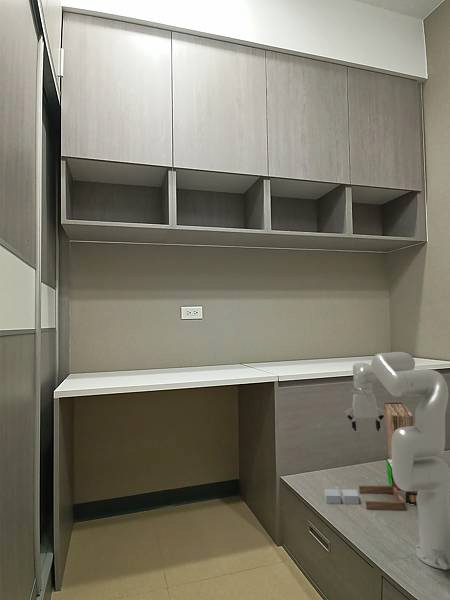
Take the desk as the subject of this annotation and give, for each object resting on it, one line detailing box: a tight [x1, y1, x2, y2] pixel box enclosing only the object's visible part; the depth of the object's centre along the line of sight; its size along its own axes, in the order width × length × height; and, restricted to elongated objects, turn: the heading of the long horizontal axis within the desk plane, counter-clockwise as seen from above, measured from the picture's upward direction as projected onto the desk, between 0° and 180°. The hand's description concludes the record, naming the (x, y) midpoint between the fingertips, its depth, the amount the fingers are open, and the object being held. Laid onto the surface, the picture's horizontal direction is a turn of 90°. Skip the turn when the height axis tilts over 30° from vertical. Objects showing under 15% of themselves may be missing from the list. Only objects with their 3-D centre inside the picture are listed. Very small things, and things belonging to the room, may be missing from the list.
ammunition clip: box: [404, 490, 419, 506], centre depth 154 cm, size 11×2×12 cm, turn 62°
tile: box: [341, 488, 360, 505], centre depth 161 cm, size 6×6×4 cm
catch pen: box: [358, 485, 407, 511], centre depth 159 cm, size 15×15×3 cm
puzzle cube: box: [385, 458, 402, 491], centre depth 172 cm, size 10×10×10 cm
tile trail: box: [323, 488, 342, 505], centre depth 163 cm, size 6×6×4 cm
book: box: [383, 402, 415, 459], centre depth 192 cm, size 25×9×30 cm, turn 165°
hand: (366, 430), depth 167 cm, fingers open, 9 cm apart
